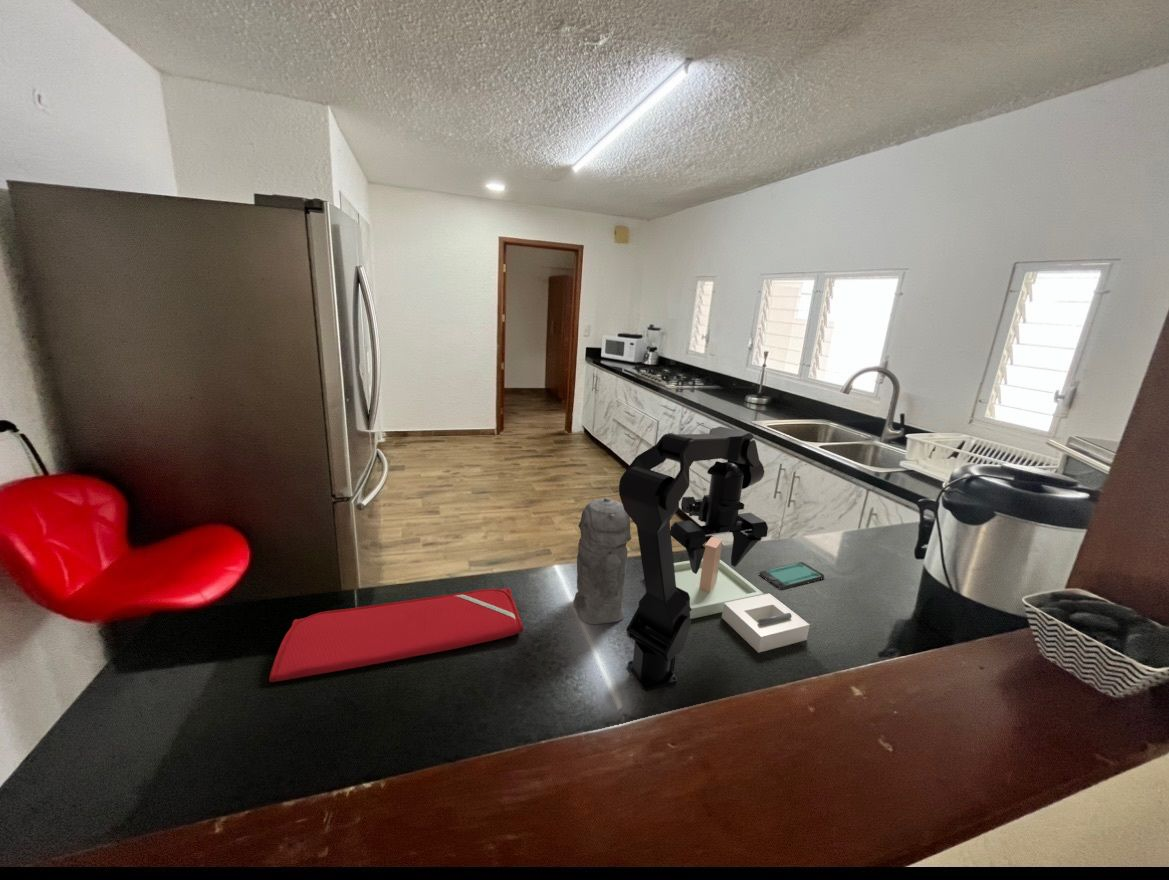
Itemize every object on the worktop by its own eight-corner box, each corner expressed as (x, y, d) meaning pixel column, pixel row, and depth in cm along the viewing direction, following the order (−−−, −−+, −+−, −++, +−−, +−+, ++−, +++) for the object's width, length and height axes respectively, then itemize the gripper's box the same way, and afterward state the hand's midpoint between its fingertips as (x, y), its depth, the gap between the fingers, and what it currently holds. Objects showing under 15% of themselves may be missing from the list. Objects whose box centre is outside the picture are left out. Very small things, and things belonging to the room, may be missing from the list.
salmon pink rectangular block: (709, 592, 103) (716, 548, 101) (699, 588, 105) (704, 544, 102) (716, 582, 108) (722, 539, 105) (706, 578, 109) (711, 536, 106)
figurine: (608, 587, 105) (616, 484, 99) (630, 626, 92) (641, 511, 85) (567, 591, 102) (572, 486, 96) (583, 633, 89) (590, 514, 83)
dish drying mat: (295, 625, 88) (292, 608, 87) (509, 595, 101) (509, 580, 100) (269, 687, 73) (266, 668, 72) (523, 643, 86) (524, 626, 85)
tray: (685, 620, 95) (686, 609, 94) (645, 576, 110) (646, 567, 109) (761, 603, 102) (763, 593, 101) (714, 564, 117) (716, 556, 117)
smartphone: (758, 571, 114) (802, 560, 120) (757, 575, 114) (801, 565, 120) (781, 587, 107) (826, 575, 113) (780, 591, 108) (825, 579, 114)
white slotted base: (758, 652, 86) (762, 632, 85) (721, 617, 96) (724, 598, 95) (806, 639, 91) (810, 620, 90) (766, 607, 101) (770, 589, 100)
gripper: (736, 476, 96) (727, 544, 100) (659, 483, 90) (652, 555, 94) (775, 496, 86) (763, 570, 90) (691, 505, 80) (682, 585, 84)
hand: (714, 569), depth 90 cm, fingers open, 9 cm apart
